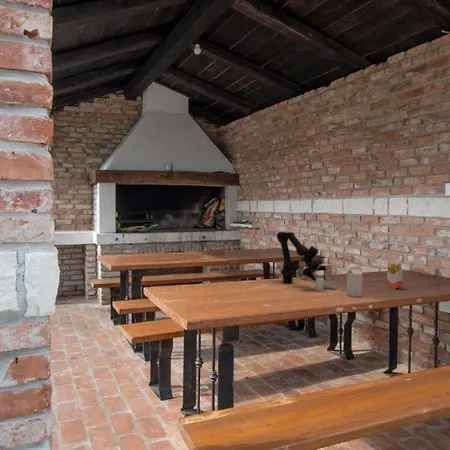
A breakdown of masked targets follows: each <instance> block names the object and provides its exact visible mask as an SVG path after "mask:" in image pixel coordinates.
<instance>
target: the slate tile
mask: <svg viewBox="0 0 450 450" xmlns="http://www.w3.org/2000/svg"><path fill="white" fill-rule="evenodd" d="M338 286H339V285H336V284H328V283H326V284H325V283H324V287H323V290H329V291H330V290H332V291H335V290H336V289H337V288H338Z"/></svg>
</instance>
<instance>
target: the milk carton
mask: <svg viewBox="0 0 450 450" xmlns="http://www.w3.org/2000/svg"><path fill="white" fill-rule="evenodd" d="M346 295H347V296H350V297H353V298H354V297H362V296H363V272H362V270H361V267H360V266H354V267H353V266H350V267H349V269H348V271H347V272H346Z"/></svg>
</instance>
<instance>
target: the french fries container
mask: <svg viewBox="0 0 450 450" xmlns="http://www.w3.org/2000/svg"><path fill="white" fill-rule="evenodd" d="M403 271H404V270H403V267H402V264H401V263H396V262H394V263H393V262H391V263H390V266H387V274H386V284H387V286H388V288H389V287H390V288H389V289H393V288H394V289H393V290H397V289H396V288H399V289H401V287H402V286H403Z"/></svg>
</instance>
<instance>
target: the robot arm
mask: <svg viewBox="0 0 450 450" xmlns="http://www.w3.org/2000/svg"><path fill="white" fill-rule="evenodd" d="M276 238H277V241H278V242H279V243H280V246H281V251H282V256H283V259H284V263H283V269H282V270H281V271H280V274H281V275H282V283H283V284H292V283H293V281H294V276H293V275H294V274H295V271H296V269H297V267H296V264H295V262H293V261H292V259H291V254H290V249H289V244H288V241H290V243H291V244H292V245H293V246H294V248H295V252H296V254H297V255H298V256H299V257H301V259H300V261H301V262H304V263H305V267H307V268H305V269H304V270H302V276H303V275H305V276H307V277H309V278H311V279H313V280H312V281H314V282H315V281H316V278H315V277H314V275H313V272H316V270H323V271H324V281H326V280H325V279H326V278H325V270H326V269H327V268H326V266H320V267H319V265H321V264H324V261H323V259H322V258H319V259H316V260H314V259H315V258H316V256H317V255H318V254H319V250H318V248H316V247H315V246H314V245H313V246H310V248H308V247H306V245H304V244H302V243H301V242H300V241H299V239H298V238H297V237H296V235H295V234H294V232H292V231H289V232H287V231H278V232H277V233H276ZM317 267H319V268H317Z"/></svg>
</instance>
